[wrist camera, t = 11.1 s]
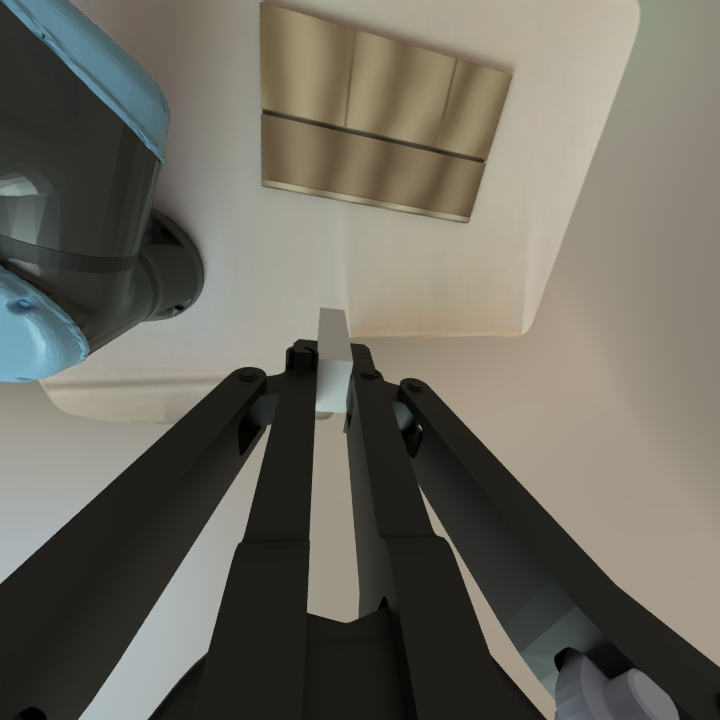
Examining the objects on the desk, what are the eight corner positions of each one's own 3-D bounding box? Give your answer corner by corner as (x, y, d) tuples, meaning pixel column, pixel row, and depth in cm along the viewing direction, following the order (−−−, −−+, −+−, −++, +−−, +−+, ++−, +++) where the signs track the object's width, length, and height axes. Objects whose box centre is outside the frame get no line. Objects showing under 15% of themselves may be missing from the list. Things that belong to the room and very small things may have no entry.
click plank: (263, 186, 35) (261, 185, 34) (263, 117, 32) (261, 113, 31) (464, 223, 40) (468, 223, 38) (480, 165, 37) (486, 163, 35)
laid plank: (263, 114, 32) (261, 111, 31) (262, 9, 28) (259, 1, 27) (481, 163, 36) (486, 161, 35) (506, 79, 33) (513, 74, 31)
